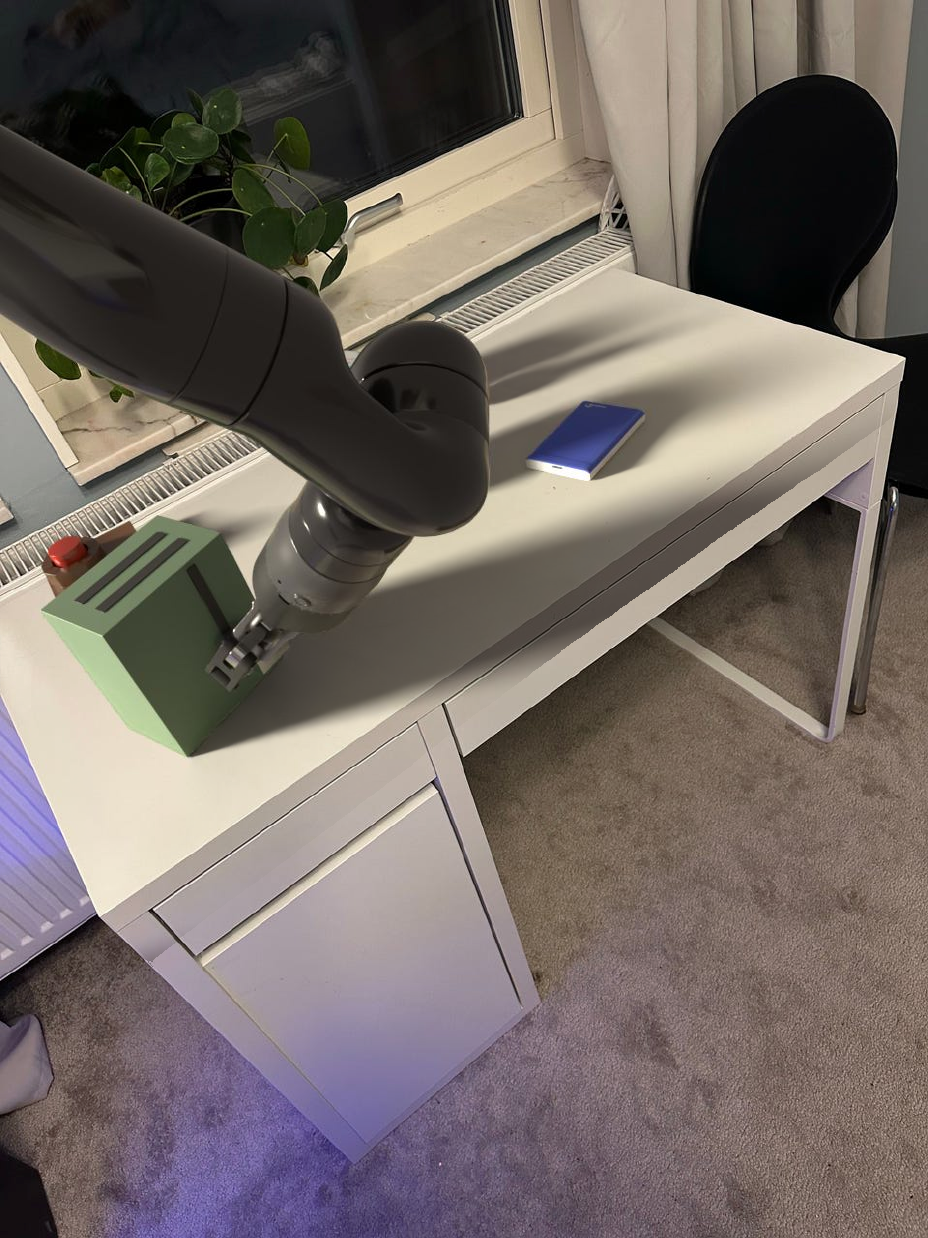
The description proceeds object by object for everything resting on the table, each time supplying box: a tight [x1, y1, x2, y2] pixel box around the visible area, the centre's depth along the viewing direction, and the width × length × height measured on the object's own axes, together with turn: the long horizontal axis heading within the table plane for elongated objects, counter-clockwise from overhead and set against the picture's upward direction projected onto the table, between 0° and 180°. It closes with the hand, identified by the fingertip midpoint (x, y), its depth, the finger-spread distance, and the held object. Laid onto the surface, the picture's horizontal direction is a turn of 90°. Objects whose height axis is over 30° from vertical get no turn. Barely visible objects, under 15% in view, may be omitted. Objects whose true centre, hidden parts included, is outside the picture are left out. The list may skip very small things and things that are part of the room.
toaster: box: [39, 514, 285, 758], centre depth 74 cm, size 13×9×15 cm, turn 148°
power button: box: [47, 535, 87, 568], centre depth 94 cm, size 4×4×2 cm
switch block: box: [40, 520, 138, 598], centre depth 96 cm, size 11×9×4 cm
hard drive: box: [525, 400, 646, 482], centre depth 95 cm, size 2×8×12 cm
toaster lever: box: [215, 617, 291, 674], centre depth 72 cm, size 4×5×2 cm
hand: (265, 637), depth 69 cm, fingers open, 8 cm apart
